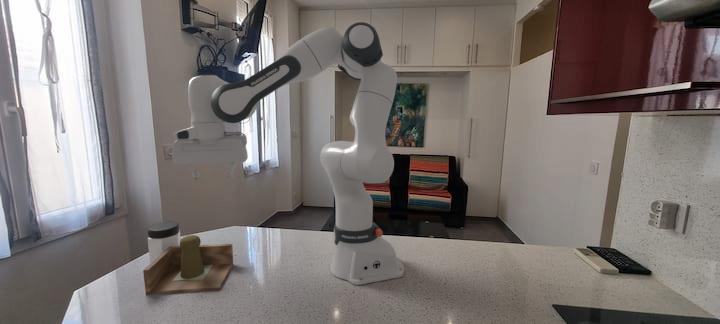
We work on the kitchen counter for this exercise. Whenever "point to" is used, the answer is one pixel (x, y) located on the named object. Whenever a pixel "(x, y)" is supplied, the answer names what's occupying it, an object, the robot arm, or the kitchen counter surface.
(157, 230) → the jar
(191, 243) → the olive pepper mill
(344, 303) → the kitchen counter surface
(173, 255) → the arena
